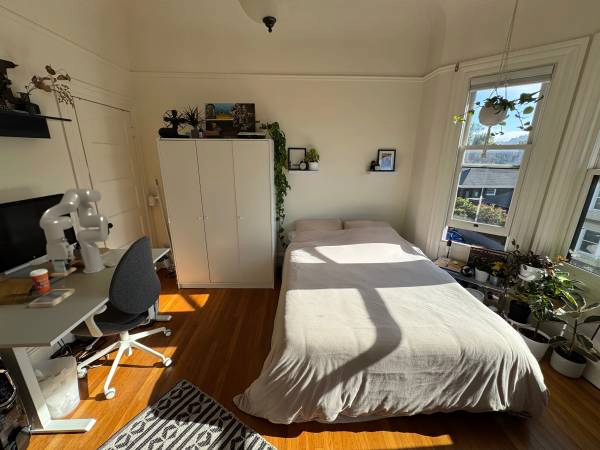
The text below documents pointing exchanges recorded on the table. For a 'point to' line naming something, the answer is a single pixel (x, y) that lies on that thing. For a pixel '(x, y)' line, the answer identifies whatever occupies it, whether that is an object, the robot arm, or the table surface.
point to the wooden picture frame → (51, 298)
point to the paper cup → (40, 280)
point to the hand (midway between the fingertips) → (63, 269)
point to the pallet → (61, 269)
